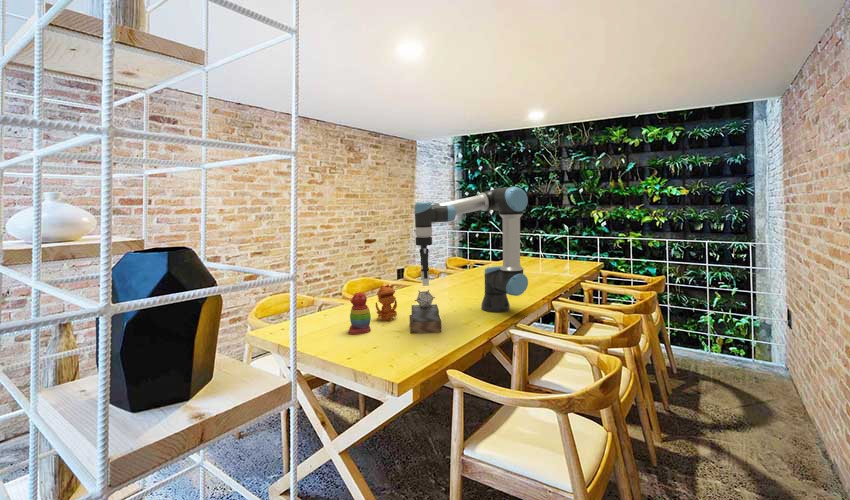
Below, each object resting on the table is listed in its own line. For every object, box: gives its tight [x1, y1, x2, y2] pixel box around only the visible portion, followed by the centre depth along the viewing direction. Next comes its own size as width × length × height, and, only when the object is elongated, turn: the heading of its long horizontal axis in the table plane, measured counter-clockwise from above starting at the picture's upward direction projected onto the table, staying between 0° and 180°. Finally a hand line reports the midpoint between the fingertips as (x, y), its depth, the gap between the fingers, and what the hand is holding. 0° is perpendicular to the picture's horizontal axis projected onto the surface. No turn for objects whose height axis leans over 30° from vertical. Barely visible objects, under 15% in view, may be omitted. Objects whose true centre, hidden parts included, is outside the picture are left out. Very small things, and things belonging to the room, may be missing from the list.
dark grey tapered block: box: [409, 303, 442, 334], centre depth 201 cm, size 14×13×10 cm
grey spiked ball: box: [414, 289, 436, 308], centre depth 200 cm, size 9×8×10 cm
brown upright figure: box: [375, 284, 398, 322], centre depth 217 cm, size 11×11×18 cm
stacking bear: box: [347, 291, 372, 336], centre depth 199 cm, size 11×10×18 cm
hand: (424, 282), depth 199 cm, fingers open, 13 cm apart
